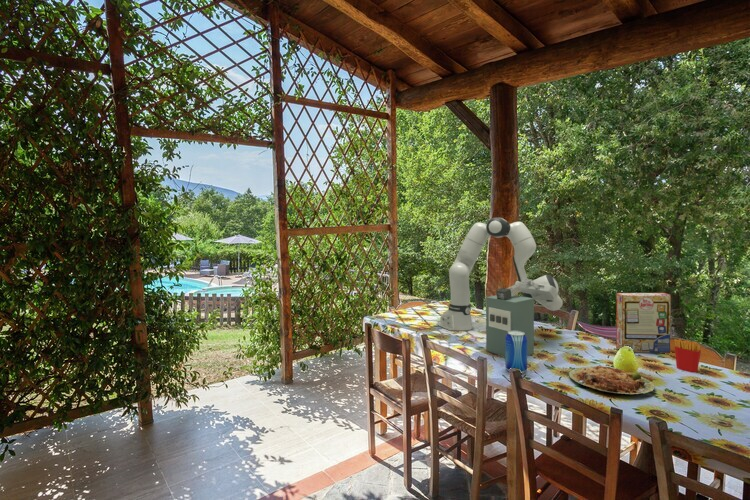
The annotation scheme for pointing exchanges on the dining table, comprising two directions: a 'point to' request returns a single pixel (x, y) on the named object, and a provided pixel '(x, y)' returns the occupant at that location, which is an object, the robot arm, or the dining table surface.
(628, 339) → the board game box
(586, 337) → the dining table surface
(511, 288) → the lever bar
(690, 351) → the french fries
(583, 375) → the rice dish
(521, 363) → the beer can
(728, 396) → the dining table surface
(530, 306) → the switch cabinet
